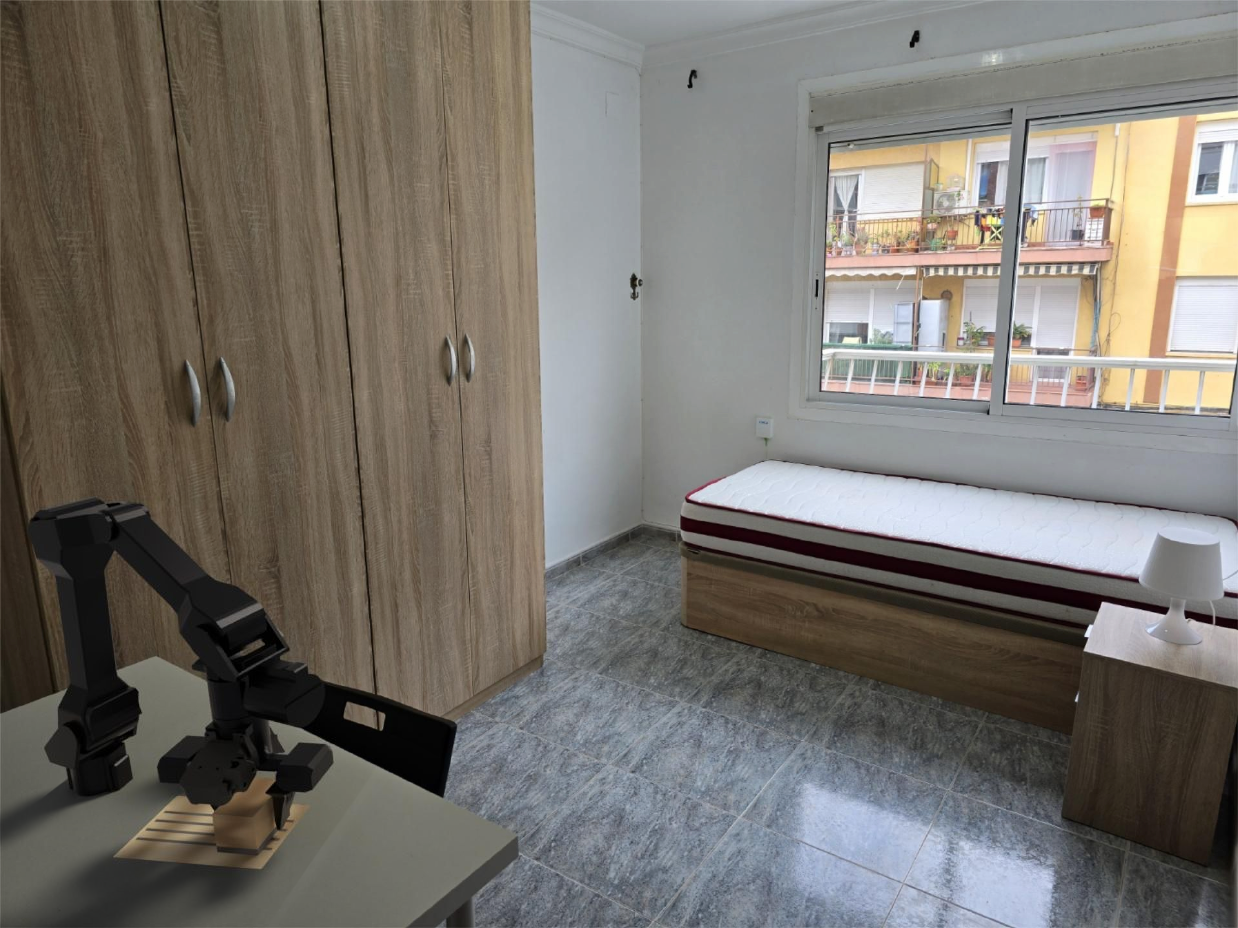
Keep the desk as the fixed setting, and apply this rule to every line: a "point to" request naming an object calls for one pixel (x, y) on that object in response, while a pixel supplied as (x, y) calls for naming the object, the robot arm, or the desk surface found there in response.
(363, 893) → the desk surface
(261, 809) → the block
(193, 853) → the pine board
